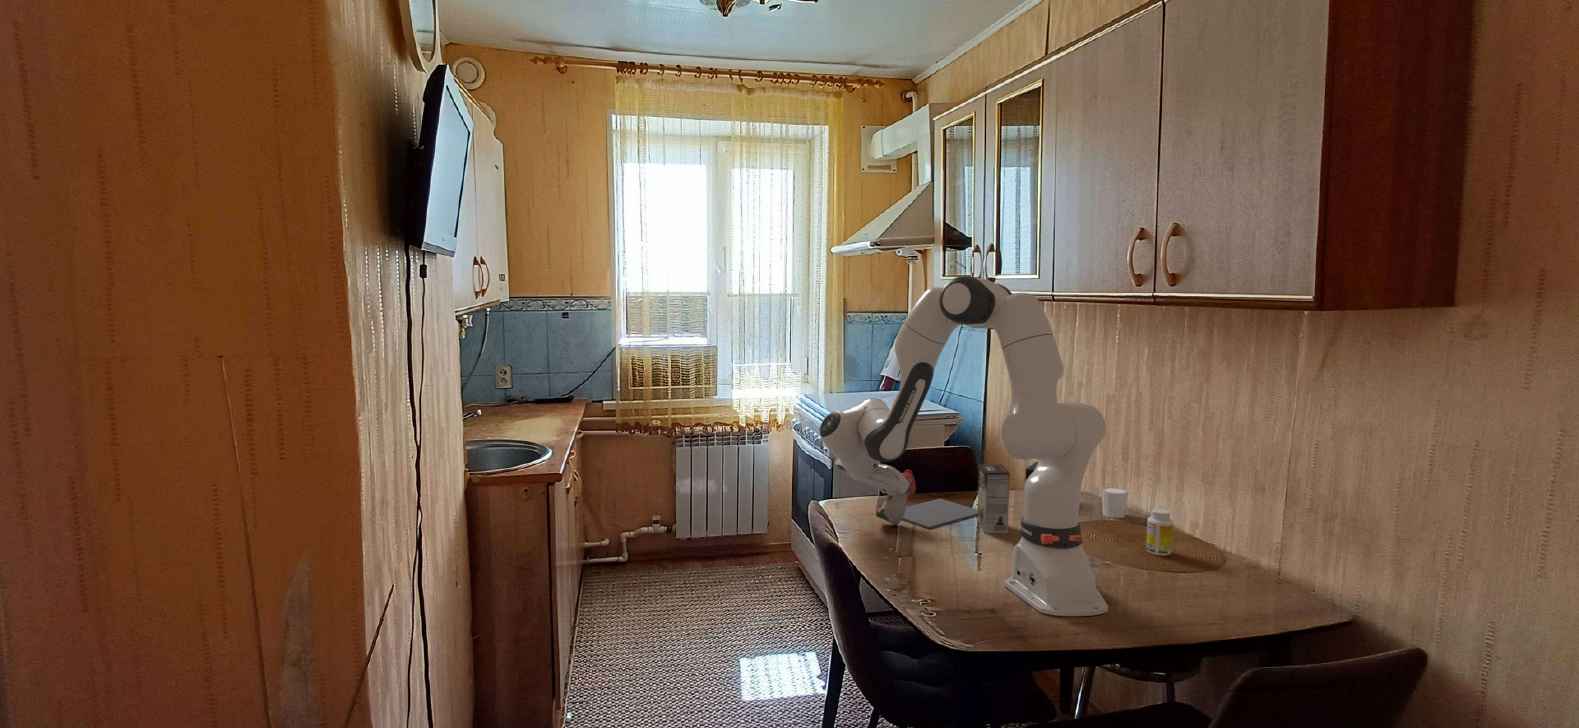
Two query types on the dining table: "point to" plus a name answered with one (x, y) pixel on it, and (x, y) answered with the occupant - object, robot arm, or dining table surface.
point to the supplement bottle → (1159, 533)
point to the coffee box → (993, 498)
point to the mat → (937, 513)
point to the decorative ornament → (897, 502)
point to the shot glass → (1114, 502)
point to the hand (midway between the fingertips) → (889, 492)
